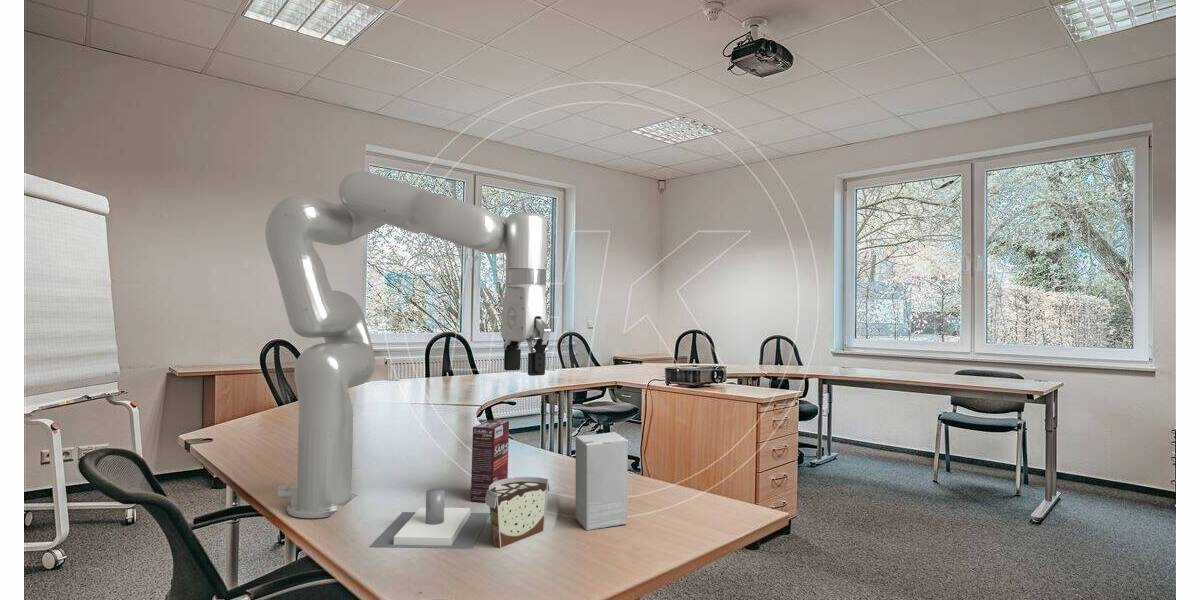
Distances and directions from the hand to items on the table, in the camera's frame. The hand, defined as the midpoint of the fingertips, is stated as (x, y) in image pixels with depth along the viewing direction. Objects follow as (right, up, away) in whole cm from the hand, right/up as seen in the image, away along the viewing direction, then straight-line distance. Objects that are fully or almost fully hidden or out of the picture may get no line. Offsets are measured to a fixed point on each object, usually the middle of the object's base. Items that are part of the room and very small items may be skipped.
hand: (523, 372), depth 109 cm
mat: (-14, -27, -10) cm, 31 cm away
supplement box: (-8, -27, +8) cm, 30 cm away
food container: (-1, -27, -12) cm, 29 cm away
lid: (-14, -25, -10) cm, 30 cm away
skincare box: (+14, -27, -2) cm, 31 cm away
